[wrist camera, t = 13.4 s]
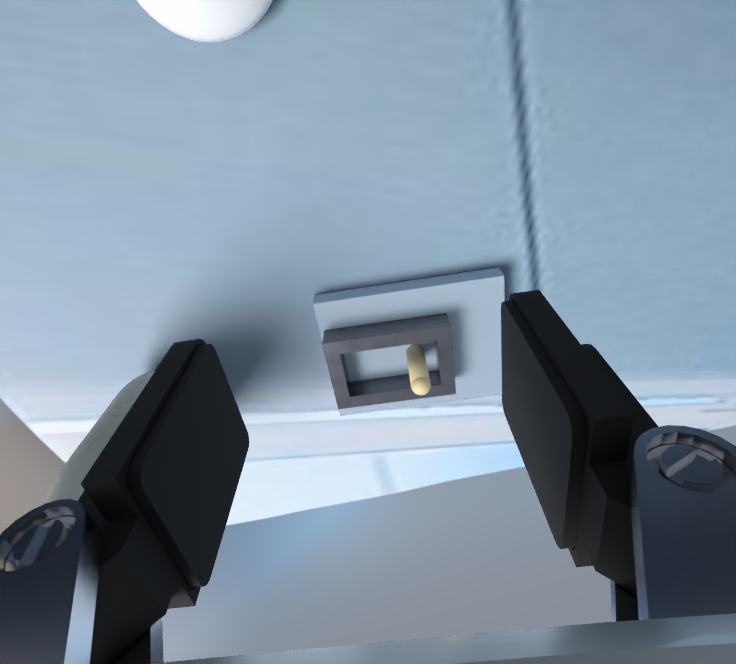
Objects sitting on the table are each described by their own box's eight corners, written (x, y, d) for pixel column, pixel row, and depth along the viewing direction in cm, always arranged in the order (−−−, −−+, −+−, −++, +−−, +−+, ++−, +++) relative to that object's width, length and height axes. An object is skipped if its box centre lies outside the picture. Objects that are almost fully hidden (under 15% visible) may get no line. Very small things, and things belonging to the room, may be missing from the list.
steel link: (446, 312, 44) (450, 325, 42) (451, 378, 48) (456, 393, 46) (324, 330, 45) (322, 343, 43) (339, 393, 49) (338, 409, 47)
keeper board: (498, 267, 44) (525, 308, 37) (500, 383, 51) (523, 436, 44) (314, 294, 45) (305, 339, 38) (341, 403, 52) (337, 459, 45)
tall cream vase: (148, 423, 54) (-27, 721, 30) (125, 350, 48) (-109, 638, 24) (233, 424, 54) (128, 720, 30) (220, 350, 49) (80, 637, 25)
